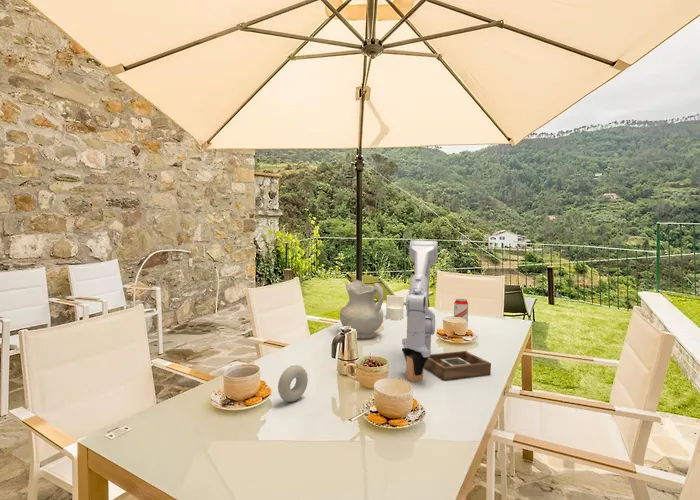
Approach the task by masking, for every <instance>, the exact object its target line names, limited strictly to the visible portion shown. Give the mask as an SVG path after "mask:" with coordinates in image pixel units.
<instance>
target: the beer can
mask: <svg viewBox="0 0 700 500" xmlns="http://www.w3.org/2000/svg"><path fill="white" fill-rule="evenodd" d="M454 317H461V318H464V319H466V321H467V327H468V322H469V318H468V317H469V302H468V299H465V298H455V301H454V304H453V318H454Z"/></svg>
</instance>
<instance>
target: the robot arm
mask: <svg viewBox="0 0 700 500" xmlns="http://www.w3.org/2000/svg"><path fill="white" fill-rule="evenodd" d="M438 247H439V245H438V241H437V240H416V239H415V240H414V239H411V240H410V241H409V248H408V251H409V258H410V260H411V262H412V263H414V274H413V275H412V276H411V277H410V283H409V288H408V289H409V290H408V294H407V295H406V299H405V310H406V317H407V320H406V321H407V322H406V338H402V340H401V341H402V342H401V344H402V347H403V348H401V351H402V353H403V355H404V359H405V362H406V361H407V356H409V355H411V356H412V359H413V363H414V373H415V375H416V376H417V375H421V374H422V371H423V372H424V369H425V368H424V365H425V362H426V361H427V359H428V358H429V357H430V355H431V352H432V351H431V348H432V336H434V334H435V333H436V315H435V312H433V311H432V310H431V309H430V308H429V297H430V296H429V292H430V287H429V286H430V271H431V267H432V265H433V264H436V263H437V260H438V250H439V249H438Z"/></svg>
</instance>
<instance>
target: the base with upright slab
mask: <svg viewBox="0 0 700 500" xmlns="http://www.w3.org/2000/svg"><path fill="white" fill-rule="evenodd" d="M404 297H405V296H404V295H392V294H390V295H389V294H387V295H386V303H385V304H386V308H385V309H386V310H385V312H386V313H385V318H387V319H386V320H388V319H391V320H390V321H400V320H399V319H403V320H404V305H405V303H404V301H405V300H404V299H405V298H404Z"/></svg>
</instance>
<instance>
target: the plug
mask: <svg viewBox="0 0 700 500" xmlns="http://www.w3.org/2000/svg"><path fill="white" fill-rule="evenodd" d="M405 362H406V364H405V366H406V368H405V370H406V371H405V378H407V379H408V380H410V381H411V382H416V381H423V380H424V370H423V371H422V374H421V375H417V376H416V375H415V373H414V363H413V359H412V356H411V355H409V356H407V361H406V360H405Z"/></svg>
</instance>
